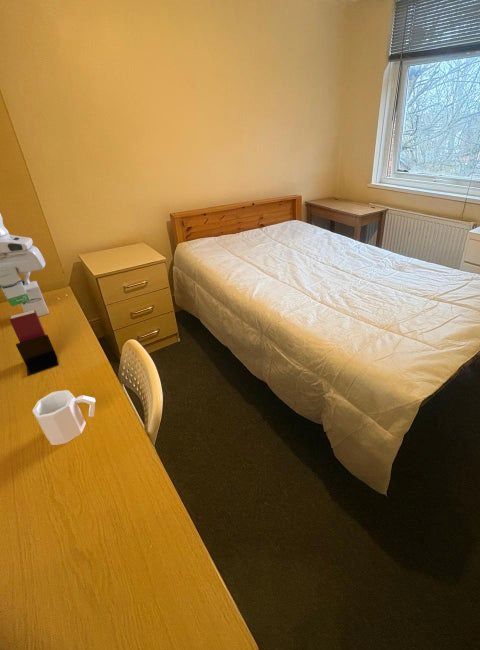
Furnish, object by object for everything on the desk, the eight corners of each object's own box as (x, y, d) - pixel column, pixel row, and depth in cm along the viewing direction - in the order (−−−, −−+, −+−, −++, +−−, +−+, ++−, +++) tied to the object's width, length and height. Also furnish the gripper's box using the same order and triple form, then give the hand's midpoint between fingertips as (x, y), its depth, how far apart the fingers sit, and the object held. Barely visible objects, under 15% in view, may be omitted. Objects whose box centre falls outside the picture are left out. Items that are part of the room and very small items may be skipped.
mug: (46, 451, 76) (31, 423, 72) (47, 426, 83) (33, 398, 78) (103, 427, 82) (92, 400, 78) (100, 405, 89) (89, 379, 84)
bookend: (26, 366, 102) (15, 343, 98) (57, 356, 107) (47, 334, 102) (27, 376, 98) (15, 353, 94) (58, 365, 103) (48, 342, 99)
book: (9, 316, 99) (9, 319, 97) (35, 309, 103) (35, 312, 100) (29, 359, 105) (29, 363, 103) (53, 352, 109) (53, 355, 106)
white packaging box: (27, 320, 125) (14, 292, 119) (25, 313, 130) (12, 285, 124) (50, 313, 130) (38, 286, 124) (47, 306, 134) (35, 280, 129)
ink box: (31, 301, 102) (16, 267, 96) (11, 307, 98) (-6, 272, 93) (24, 292, 107) (9, 259, 101) (5, 297, 103) (-11, 264, 98)
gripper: (-59, 253, 88) (-35, 297, 94) (32, 243, 95) (48, 285, 101) (-48, 246, 93) (-26, 288, 99) (37, 237, 100) (53, 277, 107)
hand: (12, 286), depth 100 cm, fingers closed on ink box, 6 cm apart
